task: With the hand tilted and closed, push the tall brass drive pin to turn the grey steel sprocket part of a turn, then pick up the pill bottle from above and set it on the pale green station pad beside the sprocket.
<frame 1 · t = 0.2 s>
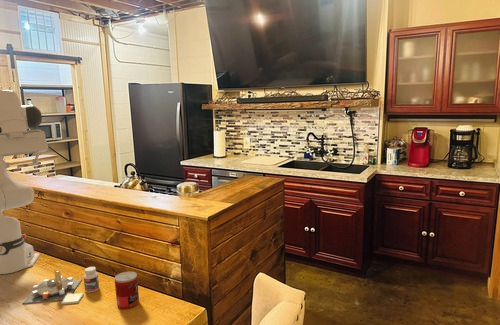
hand: (21, 165, 132), 52 cm above the table, tool tilted 20°, fingers open, 8 cm apart
canned food: (128, 304, 130), on the table
station pad: (72, 299, 134), on the table
sprocket: (52, 278, 140), point 6 cm above the table, hinge at 0.0°
pill bottle: (92, 289, 142), on the table
gray square plate: (53, 291, 141), on the table
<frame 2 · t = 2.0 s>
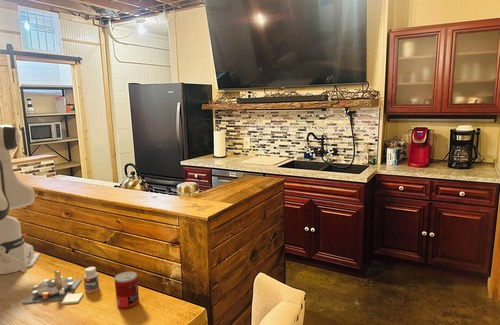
hand: (20, 266, 126), 17 cm above the table, tool tilted 45°, fingers open, 7 cm apart
nothing on the table moved.
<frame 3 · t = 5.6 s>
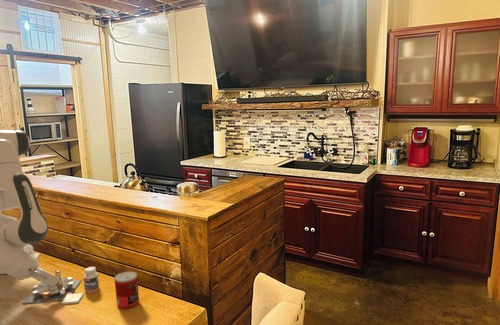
hand: (54, 281, 136), 6 cm above the table, tool tilted 45°, fingers closed, pressing on sprocket
sprocket: (52, 278, 140), point 6 cm above the table, hinge at 2.0°, touching gripper
everything else where it was.
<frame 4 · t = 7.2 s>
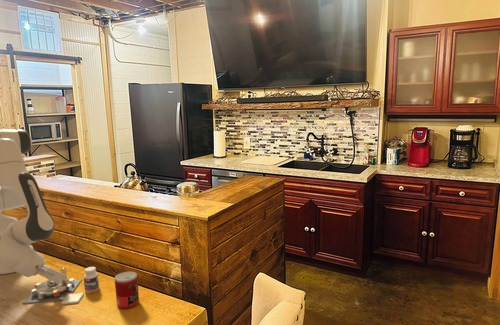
hand: (60, 278, 138), 6 cm above the table, tool tilted 45°, fingers closed
sprocket: (52, 278, 140), point 6 cm above the table, hinge at 30.4°, touching gripper
everything else where it was.
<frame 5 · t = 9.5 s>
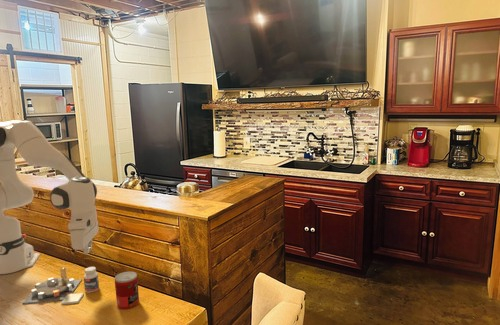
hand: (88, 251, 139), 16 cm above the table, tool pointing down, fingers closed
sprocket: (52, 278, 140), point 6 cm above the table, hinge at 30.4°
everything else where it was.
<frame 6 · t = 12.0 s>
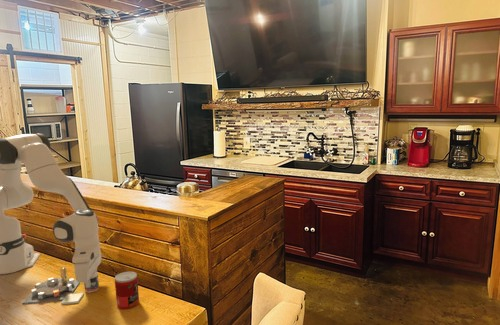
hand: (91, 282, 141), 3 cm above the table, tool pointing down, fingers closed on pill bottle, 5 cm apart
pill bottle: (92, 289, 142), on the table, touching gripper
everything else where it was.
when the fingers open (5 cm above the table, at t = 18.5 s): pill bottle stays where it is, resting on station pad.
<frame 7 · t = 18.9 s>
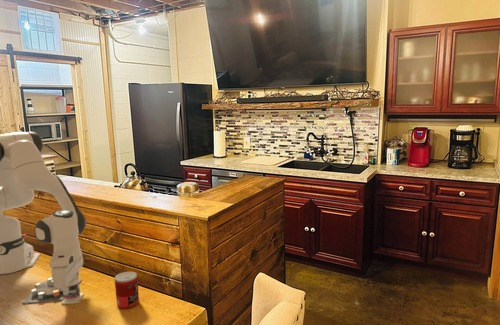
hand: (71, 287, 134), 5 cm above the table, tool pointing down, fingers open, 8 cm apart
pill bottle: (72, 297, 134), point 1 cm above the table, touching station pad
everything else where it was.
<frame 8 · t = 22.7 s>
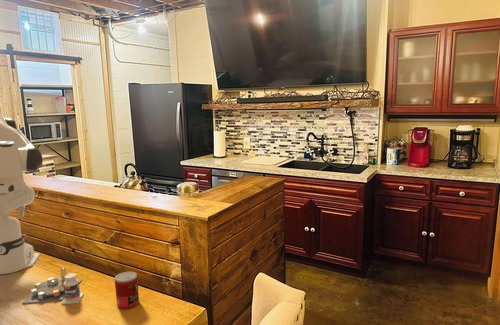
hand: (14, 220, 133), 31 cm above the table, tool pointing down, fingers open, 8 cm apart
nothing on the table moved.
at the end: sprocket at +30° (first picture: +0°); pill bottle inside the target area on the station pad (0.2 cm from its centre), point 0.6 cm above the station pad's base; pill bottle tilted 0° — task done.
